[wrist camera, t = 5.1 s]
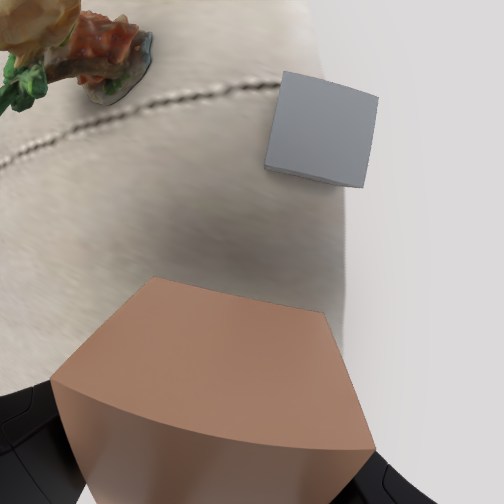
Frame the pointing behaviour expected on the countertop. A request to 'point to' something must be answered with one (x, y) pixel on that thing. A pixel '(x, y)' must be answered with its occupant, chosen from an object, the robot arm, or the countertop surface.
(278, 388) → the terracotta cube
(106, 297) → the countertop surface
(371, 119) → the slate cube
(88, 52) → the figurine
